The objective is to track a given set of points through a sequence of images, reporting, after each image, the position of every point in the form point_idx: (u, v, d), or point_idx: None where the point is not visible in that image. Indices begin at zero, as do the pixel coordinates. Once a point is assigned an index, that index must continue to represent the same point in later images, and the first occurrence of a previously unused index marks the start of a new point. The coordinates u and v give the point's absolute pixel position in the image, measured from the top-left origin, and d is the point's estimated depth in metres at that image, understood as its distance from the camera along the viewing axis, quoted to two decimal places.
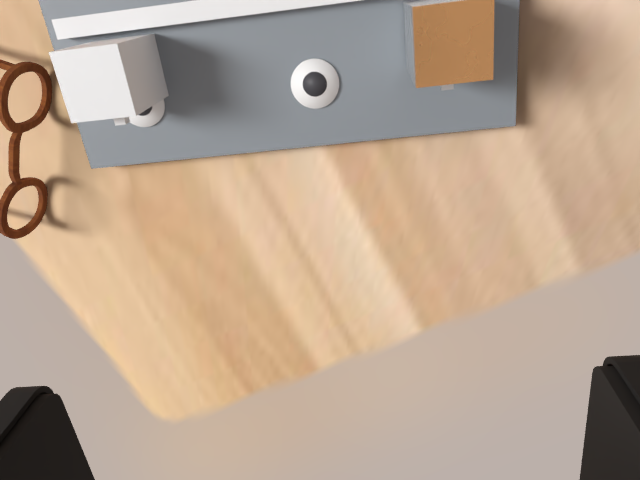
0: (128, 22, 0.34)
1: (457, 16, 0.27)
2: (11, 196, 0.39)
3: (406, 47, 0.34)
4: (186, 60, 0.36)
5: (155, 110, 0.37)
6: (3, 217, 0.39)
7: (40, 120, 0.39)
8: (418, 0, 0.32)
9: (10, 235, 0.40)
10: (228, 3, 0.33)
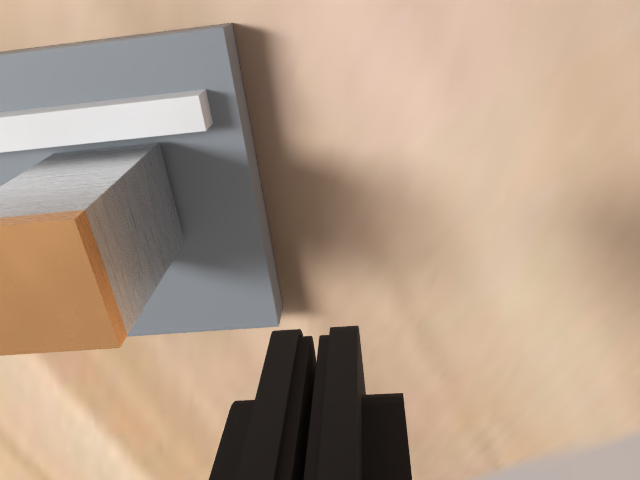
0: None
1: (17, 249, 0.14)
2: None
3: None
4: None
5: None
6: None
7: None
8: (63, 158, 0.19)
9: None
10: None
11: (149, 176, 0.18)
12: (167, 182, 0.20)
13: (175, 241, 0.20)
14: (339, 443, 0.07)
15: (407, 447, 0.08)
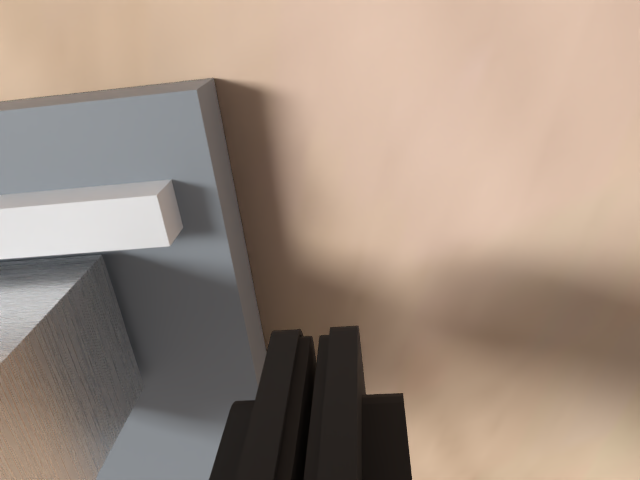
0: None
1: None
2: None
3: None
4: None
5: None
6: None
7: None
8: None
9: None
10: None
11: (80, 316, 0.12)
12: (116, 310, 0.13)
13: (128, 395, 0.14)
14: (339, 443, 0.07)
15: (407, 447, 0.08)
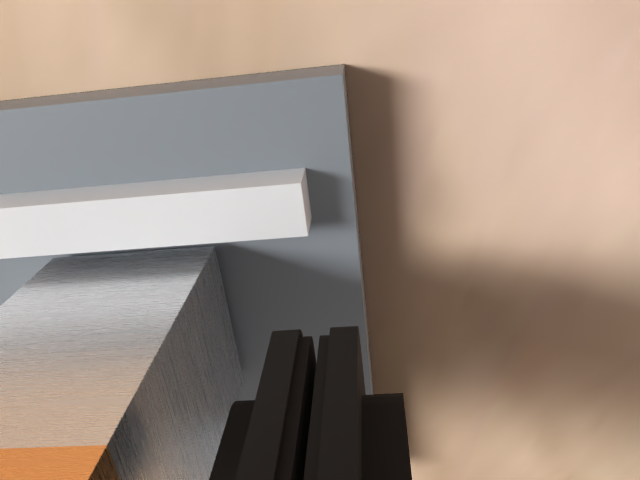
0: None
1: None
2: None
3: None
4: None
5: None
6: None
7: None
8: (68, 273, 0.12)
9: None
10: None
11: (203, 308, 0.12)
12: (224, 303, 0.13)
13: (234, 390, 0.13)
14: (339, 443, 0.07)
15: (407, 447, 0.08)
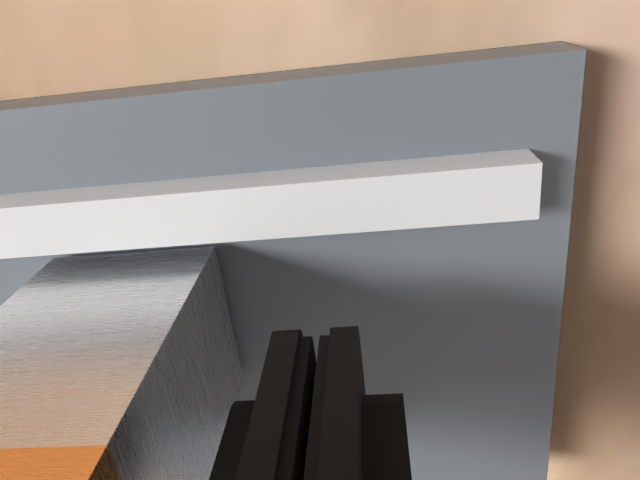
0: None
1: None
2: None
3: None
4: None
5: None
6: None
7: None
8: (68, 273, 0.12)
9: None
10: None
11: (202, 308, 0.12)
12: (225, 304, 0.13)
13: (234, 390, 0.13)
14: (339, 443, 0.07)
15: (407, 447, 0.08)
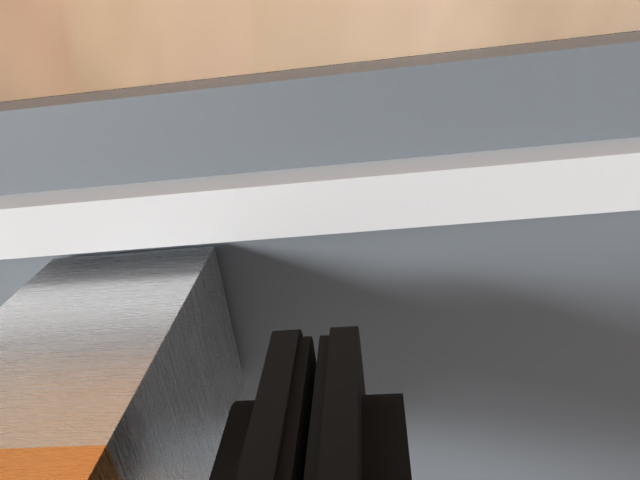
0: None
1: None
2: None
3: None
4: None
5: None
6: None
7: None
8: (68, 274, 0.12)
9: None
10: None
11: (203, 308, 0.12)
12: (224, 303, 0.13)
13: (234, 390, 0.13)
14: (339, 443, 0.07)
15: (407, 447, 0.08)
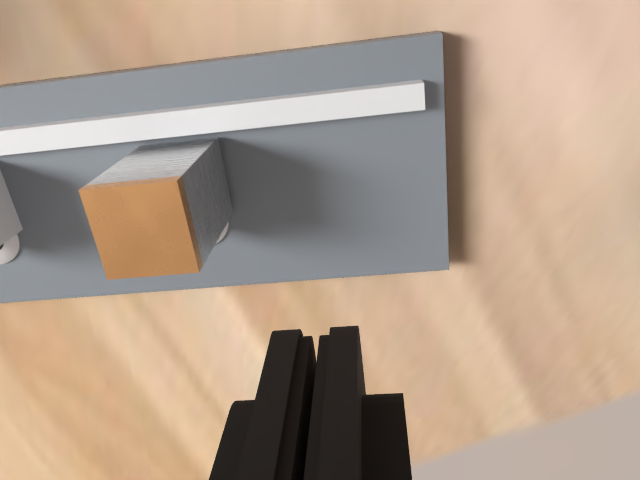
0: None
1: (136, 201, 0.21)
2: None
3: None
4: (39, 190, 0.29)
5: (8, 246, 0.30)
6: None
7: None
8: (150, 148, 0.26)
9: None
10: (77, 131, 0.26)
11: (213, 160, 0.26)
12: (223, 166, 0.27)
13: (228, 210, 0.27)
14: (339, 443, 0.07)
15: (407, 447, 0.08)
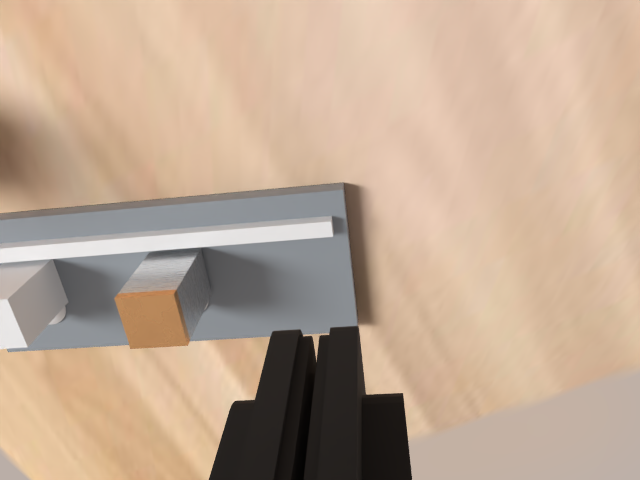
0: (28, 255, 0.41)
1: (149, 305, 0.35)
2: None
3: None
4: (80, 277, 0.43)
5: (57, 313, 0.44)
6: None
7: None
8: (156, 256, 0.40)
9: None
10: (108, 245, 0.40)
11: (197, 266, 0.39)
12: (204, 266, 0.41)
13: (207, 294, 0.41)
14: (339, 443, 0.07)
15: (407, 447, 0.08)
